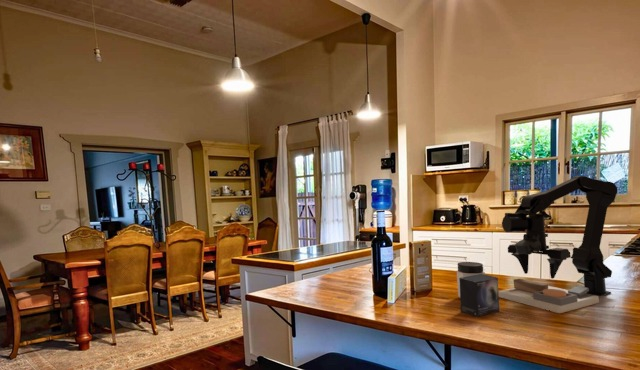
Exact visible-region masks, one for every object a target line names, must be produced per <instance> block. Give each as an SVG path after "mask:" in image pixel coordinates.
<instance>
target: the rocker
mask: <svg viewBox="0 0 640 370" xmlns="http://www.w3.org/2000/svg"><path fill="white" fill-rule="evenodd" d="M567 290H568V293H570V294H575V295H577V296H582V295H583V294H588V293H587V292H588V291H589V288H586V287H584V286H580V285H575V286H574V287H572V288H571V289H567Z"/></svg>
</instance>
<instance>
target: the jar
mask: <svg viewBox="0 0 640 370" xmlns="http://www.w3.org/2000/svg"><path fill="white" fill-rule="evenodd" d="M477 274H485V275H486V273H485V271H484V265H483V263H480V262H478V261H476V262H475V261H461V262H457V270H456V281H457V282H456V283H457V295H458V296H457V297H458V298H459V299H460V280H459V278H461V277H466V276H472V275H477Z"/></svg>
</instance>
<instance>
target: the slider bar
mask: <svg viewBox="0 0 640 370" xmlns="http://www.w3.org/2000/svg"><path fill="white" fill-rule="evenodd" d="M548 286H549V284H547V283H542V282H537V281H533V280H528V279H523V278H516V279H513V288H515V289H519V290H524V291H528V292H532V293H534V292H538V291H543V290H544V289H548Z"/></svg>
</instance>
